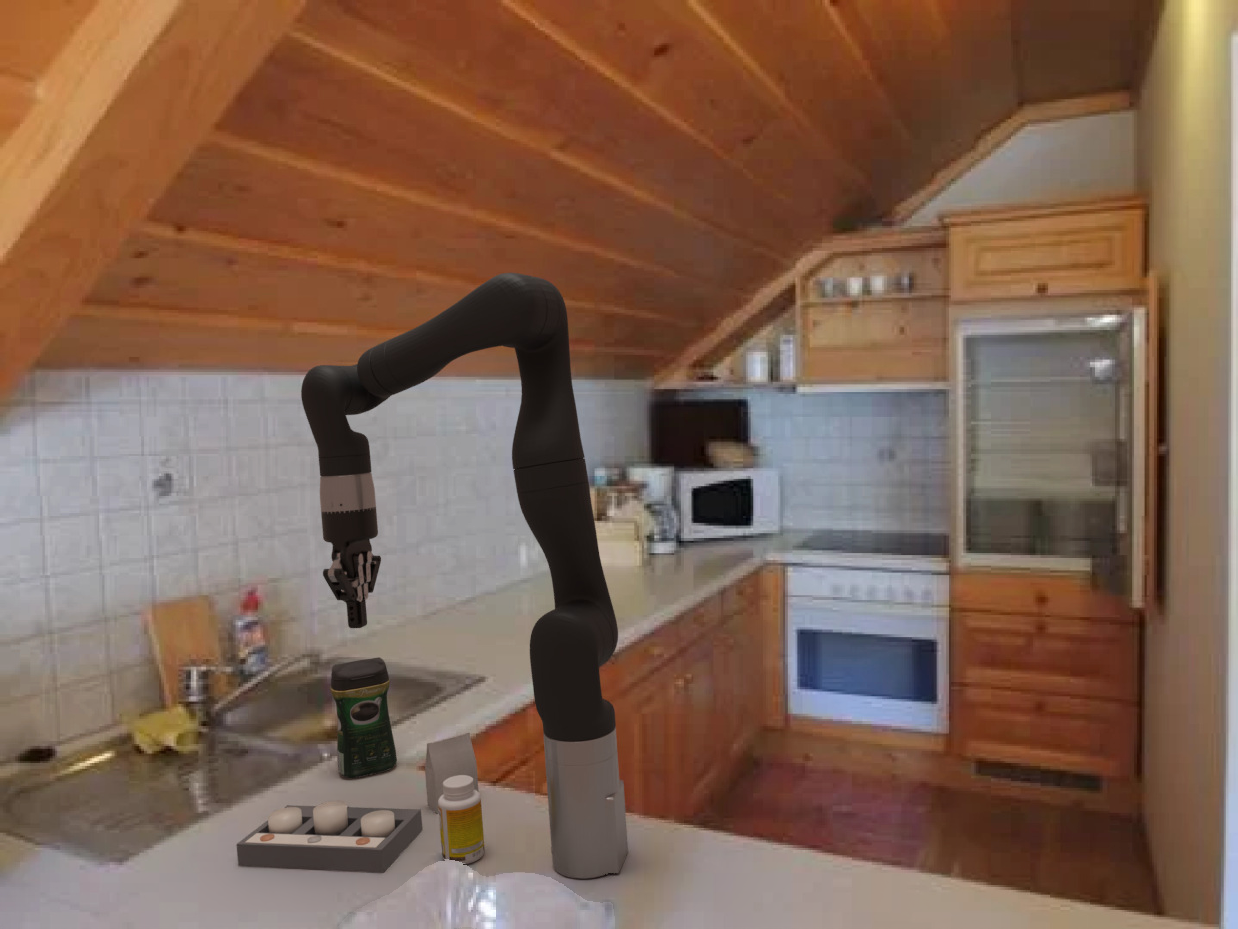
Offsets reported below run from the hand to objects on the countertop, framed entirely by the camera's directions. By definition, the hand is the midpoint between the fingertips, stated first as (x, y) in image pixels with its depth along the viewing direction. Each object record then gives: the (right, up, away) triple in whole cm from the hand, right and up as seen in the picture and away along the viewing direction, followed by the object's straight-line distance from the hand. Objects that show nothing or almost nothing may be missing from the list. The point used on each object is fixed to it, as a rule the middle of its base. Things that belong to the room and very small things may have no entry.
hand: (358, 626), depth 129 cm
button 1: (-9, -28, -3) cm, 30 cm away
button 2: (+5, -28, -6) cm, 29 cm away
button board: (-2, -30, -5) cm, 30 cm away
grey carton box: (+12, -28, +7) cm, 32 cm away
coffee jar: (-5, -29, +23) cm, 37 cm away
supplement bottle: (+17, -29, -10) cm, 35 cm away
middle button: (-2, -27, -5) cm, 27 cm away
